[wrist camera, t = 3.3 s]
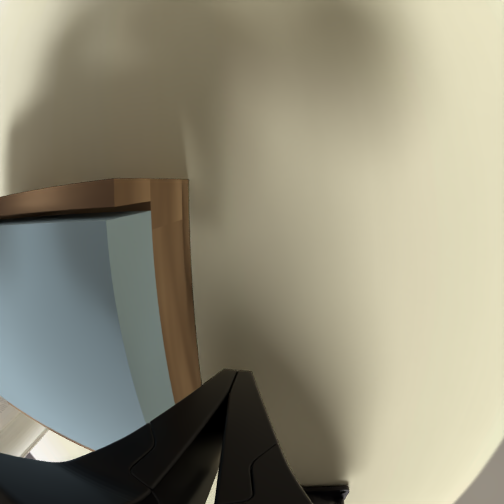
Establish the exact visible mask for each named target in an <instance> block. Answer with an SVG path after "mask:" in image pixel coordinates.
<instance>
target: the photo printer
mask: <svg viewBox="0 0 504 504" xmlns="http://www.w3.org/2000/svg"><path fill="white" fill-rule="evenodd" d="M48 430H49V429H48V428H46V427H44V426H42V425H41V424H39V423H37V422H36V421H34V420H33V419H31V418H29V417H28V416H26V415H25V414H23V413H22V412H20V411H19V410H17V409H16V408H14V407H13V406H11V405H10V404H9V403H8V402H7V400H5V399H4V398H3V397H1V396H0V453H4V454H8V455H13V456H17V457H22V458H25V456H26V455H27V454H28V453H29V452H30V451H31V450H32V449H33V447H34V446H35V445H36V444H37V443H38V442H39V441H40V440H41V439H42V437H43V436H44V435H45V434H46V433H47V432H48Z"/></svg>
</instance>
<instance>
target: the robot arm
mask: <svg viewBox="0 0 504 504" xmlns="http://www.w3.org/2000/svg"><path fill="white" fill-rule="evenodd" d="M218 468H219V471H218ZM217 471H218V479H217V487H216V495H215V503H214V504H344V500H345V498H346V496H347V495H348V493H349V487H348V486H334V487H301V485H300V484H299V482H298V481H297V479H296V478H295V476H294V474H293V472H292V471H291V469H290V467H289V465H288V463H287V461H286V459H285V456H284V454H283V452H282V449H281V447H280V445H279V442H278V440H277V437H276V435H275V432H274V430H273V427H272V424H271V422H270V419H269V417H268V414H267V411H266V409H265V406H264V403H263V401H262V398H261V395H260V393H259V390H258V387H257V385H256V382H255V379H254V376H253V374H252V372H251V371H243V370H239V371H237V370H233V369H223V370H222V371H220V372H219V373H218V374H216V375H215V376H214V377H212V378H211V379H210V380H208V381H207V382H206V383H204V384H203V385H202V386H200V387H199V388H198V389H196V390H195V391H193V392H192V393H191V394H189V395H188V396H186V397H185V398H184V399H182V400H181V401H179V402H178V403H176V404H175V405H174V406H172V407H171V408H169V409H168V410H166V411H165V412H163V413H162V414H160V415H159V416H157V417H156V418H154V419H153V420H151V421H150V423H147V424H145V425H144V426H142V427H140V428H139V429H137V430H136V431H134V432H132V433H131V434H129V435H127V436H125V437H123V438H121V439H119V440H117V441H115V442H113V443H111V444H109V445H107V446H105V447H102V448H100V449H98V450H96V451H93V452H91V453H88V454H86V455H84V456H81V457H79V458H76V459H73V460H70V461H66V462H45V461H39V460H33V459H27V458H22V457H17V456H13V455H8V454H4V453H0V504H205V503H206V500H207V498H208V495H209V492H210V490H211V487H212V484H213V482H214V479H215V476H216V474H217Z"/></svg>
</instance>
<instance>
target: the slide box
mask: <svg viewBox="0 0 504 504" xmlns="http://www.w3.org/2000/svg"><path fill="white" fill-rule="evenodd" d="M126 211H151V225H152V242H153V256H154V268H155V279H156V289H157V298H158V307H159V315H160V322H161V329H162V336H163V343H164V349H165V355H166V361H167V367H168V372H169V377H170V383H171V388H172V393H173V397H174V402H175V404H176V403H178V402H179V401H181V400H182V399H184V398H185V397H186V396H188V395H189V394H191V393H192V392H193V391H195V390H196V389H198V388H199V387H200V386H202V385H201V377H200V368H199V359H198V349H197V339H196V328H195V317H194V304H193V290H192V274H191V255H190V230H189V180H188V179H144V178H121V179H106V180H97V181H89V182H82V183H75V184H68V185H61V186H55V187H49V188H43V189H37V190H32V191H27V192H21V193H16V194H12V195H7V196H2V197H0V220H1V219H12V218H23V217H36V216H49V215H64V214H81V213H101V212H126ZM7 402H8V401H7ZM8 403H9V402H8ZM9 404H10V405H11V406H13V407H14V408H16V409H17V410H19V411H20V412H22V413H23V414H25V415H26V416H28V417H29V418H31V419H33V420H34V421H36V422H37V423H39V424H41V425H42V426H44V427H46V428H48V429H49V430H51V431H53V432H55V433H56V434H58V435H60V436H62V437H64V438H66V439H68V440H70V441H72V442H74V443H76V444H78V445H80V446H82V447H84V448H86V449H89V450H91V451H95V450H93V449H91V448H88V447H86V446H84V445H82V444H80V443H78V442H76V441H74V440H72V439H70V438H68V437H66V436H64V435H62V434H60V433H58V432H56V431H54V430H53V429H51V428H49V427H47V426H46V425H44V424H42V423H40V422H39V421H37V420H35V419H34V418H32V417H31V416H29V415H27V414H26V413H24V412H23V411H21V410H20V409H18V408H17V407H15V406H14V405H12V404H11V403H9Z"/></svg>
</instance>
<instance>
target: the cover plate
mask: <svg viewBox="0 0 504 504" xmlns="http://www.w3.org/2000/svg"><path fill="white" fill-rule="evenodd" d="M0 396H1V397H3V398H4V399H5V400H7V401H8V402H9V403H11V404H12V405H14V406H15V407H17V408H18V409H20V410H21V411H23V412H24V413H26V414H27V415H29V416H31V417H32V418H34V419H35V420H37V421H39V422H40V423H42V424H44V425H46V426H47V427H49V428H51V429H53V430H54V431H56V432H58V433H60V434H62V435H64V436H66V437H68V438H70V439H72V440H74V441H76V442H78V443H80V444H82V445H84V446H86V447H88V448H91V449H93V450H95V451H96V450H98V449H100V448H102V447H105V446H107V445H109V444H111V443H113V442H115V441H117V440H119V439H121V438H123V437H125V436H127V435H129V434H131V433H132V432H134V431H136V430H137V429H139V428H140V427H142V426H144V425H145V424H147V423H150V421H151V420H153V419H154V418H156V417H157V416H159V415H160V414H162V413H163V412H165V411H166V410H168V409H169V408H171V407H172V406H174V405H175V402H174V397H173V393H172V388H171V383H170V377H169V372H168V367H167V361H166V355H165V349H164V343H163V336H162V329H161V322H160V315H159V307H158V298H157V289H156V279H155V268H154V256H153V242H152V225H151V211H126V212H101V213H81V214H64V215H49V216H36V217H23V218H12V219H1V220H0Z"/></svg>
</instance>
